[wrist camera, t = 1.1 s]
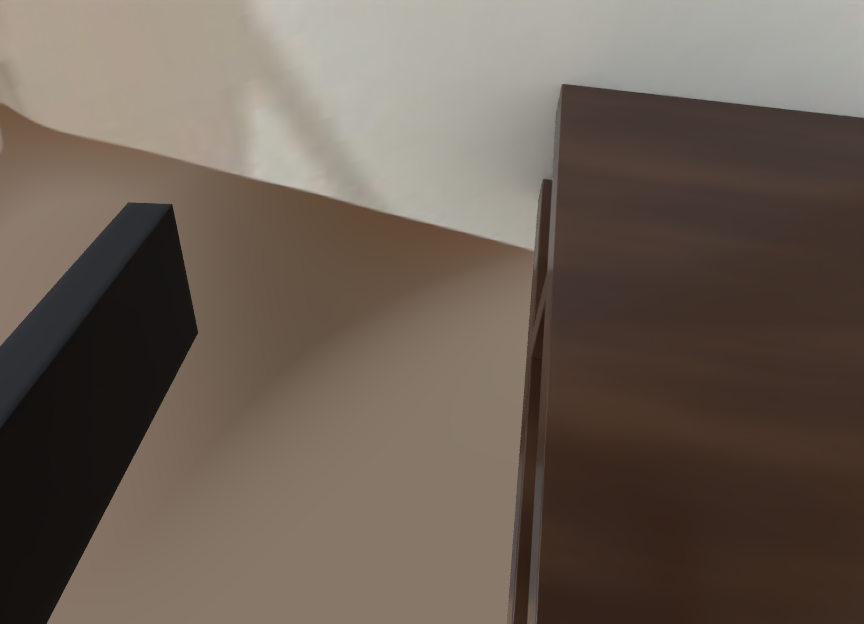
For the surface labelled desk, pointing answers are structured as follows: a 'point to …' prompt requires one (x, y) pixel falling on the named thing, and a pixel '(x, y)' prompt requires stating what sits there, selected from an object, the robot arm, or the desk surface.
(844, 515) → the shelf
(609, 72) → the desk surface
